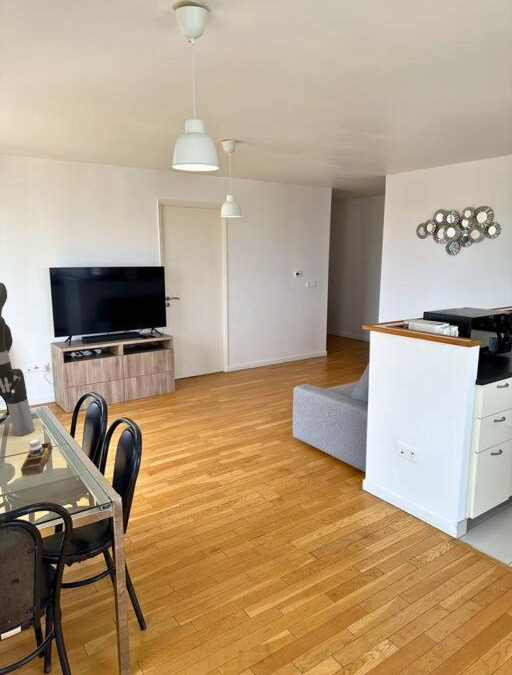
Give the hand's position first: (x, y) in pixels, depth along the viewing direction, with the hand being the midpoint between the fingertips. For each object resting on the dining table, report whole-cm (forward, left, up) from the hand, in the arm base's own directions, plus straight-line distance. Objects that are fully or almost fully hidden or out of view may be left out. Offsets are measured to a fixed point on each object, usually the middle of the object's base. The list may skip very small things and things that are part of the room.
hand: (9, 399), depth 204 cm
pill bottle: (+10, +9, -26) cm, 29 cm away
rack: (+10, +9, -27) cm, 30 cm away
